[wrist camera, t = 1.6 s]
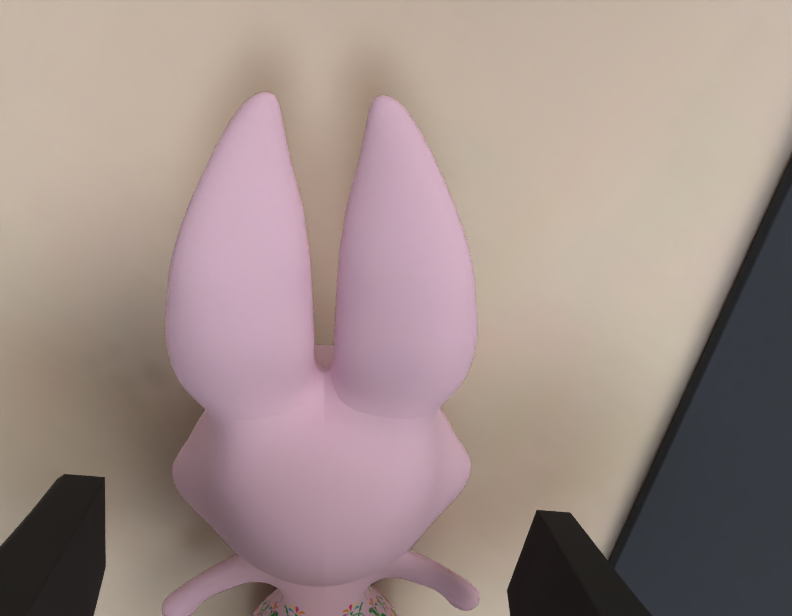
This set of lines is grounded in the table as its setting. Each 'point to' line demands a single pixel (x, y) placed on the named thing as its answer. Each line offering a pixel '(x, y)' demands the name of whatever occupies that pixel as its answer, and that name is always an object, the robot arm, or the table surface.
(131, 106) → the table surface
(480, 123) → the table surface
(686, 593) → the desk mat
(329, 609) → the rabbit figure
